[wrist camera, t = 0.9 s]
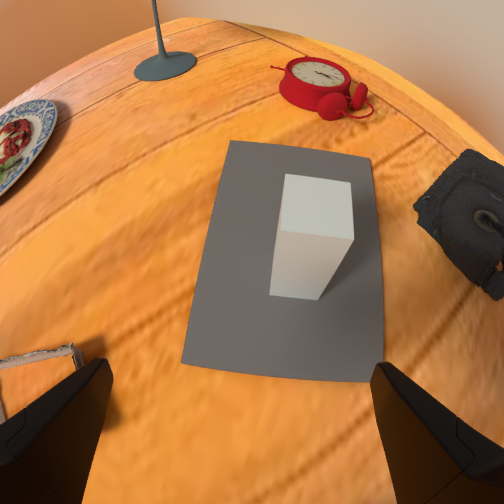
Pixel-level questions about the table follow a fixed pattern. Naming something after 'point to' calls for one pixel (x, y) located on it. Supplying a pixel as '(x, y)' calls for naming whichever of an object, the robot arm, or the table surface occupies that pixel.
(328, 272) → the painted block
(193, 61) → the cocktail glass
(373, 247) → the rubber mat
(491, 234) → the dark slate chunk
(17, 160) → the ceramic plate
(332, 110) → the alarm clock
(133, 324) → the table surface
